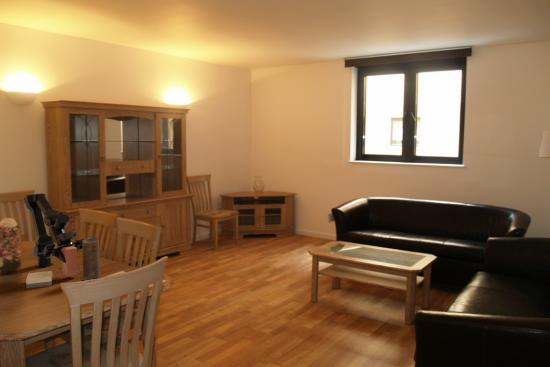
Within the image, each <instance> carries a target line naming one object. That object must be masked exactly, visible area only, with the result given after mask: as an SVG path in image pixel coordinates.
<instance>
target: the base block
mask: <svg viewBox="0 0 550 367" xmlns="http://www.w3.org/2000/svg"><path fill="white" fill-rule="evenodd" d="M25 280H26V281H25V282H26V283H25V284H26V289H33V288H42V287H49V286H52V284H53V270H47V271H41V272H30V273H27V277H26V279H25Z"/></svg>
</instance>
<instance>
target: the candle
mask: <svg viewBox="0 0 550 367" xmlns="http://www.w3.org/2000/svg"><path fill="white" fill-rule="evenodd" d="M84 239H85V240H83V241H82V247H83V249H82V280H83V281H86V280H90V279H96V280H98V279H97V278H99V279H100V276H101V275H100V274H101V273H100V271H101V268H100V245H99V244H100V243H99V238H97V237H88V238H84Z"/></svg>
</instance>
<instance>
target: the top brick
mask: <svg viewBox="0 0 550 367" xmlns="http://www.w3.org/2000/svg"><path fill="white" fill-rule="evenodd" d="M61 250H62V253H63V255H64V257H65V260H66V263H64V262H63V261H61V262H62V275H63V276H65V277H72V276H77V275H79V273H78V272H79V271H78V251H77V248H76V247H73V246H71V247H64V248H62V249H61Z"/></svg>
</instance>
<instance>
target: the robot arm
mask: <svg viewBox="0 0 550 367" xmlns="http://www.w3.org/2000/svg"><path fill="white" fill-rule="evenodd" d="M23 203H24V205H25V206H26V208H27V210H28V211H30V212H31V213H30V214H31V217H32V221H33V225H34V229H35V233H36V239H35V242H34V244H35V245H34V247H33V250H32V253H33V254H32V255H33V256H35V257H37V258H36V259H37V264H35V265H34V266H35V267H37V268H46V267H50V266H53V265H54V262H53V263H52V258H51V257H54V258H57V259H58V260H59V261H61V262H62V261H63V262H64V263H66V260H65V257H64V255H63V253H62V248H64V247H71V246H73V247H76V248H77V252H79V250H83V247H82V241H83V240H85V239H86V238H78V239H76V240H75V242H72V240H73V239H75V237H77V231H76V230H75V229H73V230H70V231H68V232H66V230H65V229H66V228H68V224H69V223H70V220H71V217H70V216H69V215H68V214H65V213H64V212H63V211H62V212H59V211H58V210H56V209H54V208H53V207H52V205H51V204H50V202H49V200H48V199H47V197H46V194H45V193H43V192H42V193H30V194H25V196H24V197H23ZM43 215H44V216H43ZM46 227H51V228H50V234H52V235H48V233H47V229H46ZM52 236H53V237H52ZM53 239H54V240H53ZM55 244H56V245H55Z"/></svg>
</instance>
